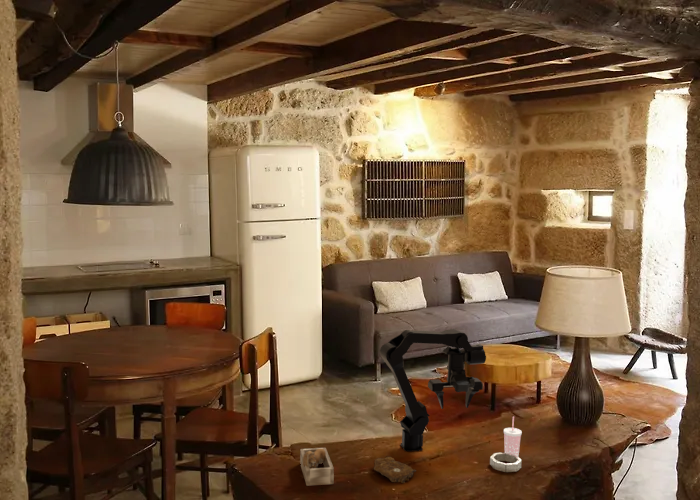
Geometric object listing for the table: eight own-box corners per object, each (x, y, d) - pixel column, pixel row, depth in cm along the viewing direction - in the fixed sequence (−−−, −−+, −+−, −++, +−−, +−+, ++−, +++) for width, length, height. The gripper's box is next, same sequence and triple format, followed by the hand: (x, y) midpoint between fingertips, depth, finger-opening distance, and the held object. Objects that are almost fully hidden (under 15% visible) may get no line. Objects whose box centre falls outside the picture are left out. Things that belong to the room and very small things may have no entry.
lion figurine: (314, 482, 219) (314, 455, 218) (298, 480, 221) (298, 452, 220) (331, 464, 233) (331, 438, 232) (316, 462, 235) (316, 436, 234)
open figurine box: (306, 485, 218) (306, 470, 217) (300, 463, 234) (300, 449, 233) (333, 483, 219) (333, 468, 219) (325, 462, 235) (325, 447, 235)
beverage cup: (524, 457, 243) (526, 417, 241) (511, 461, 239) (513, 421, 238) (511, 451, 248) (513, 412, 246) (498, 454, 244) (500, 415, 243)
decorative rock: (362, 472, 229) (396, 490, 219) (362, 460, 229) (396, 477, 218) (387, 461, 237) (420, 477, 226) (387, 449, 236) (421, 465, 226)
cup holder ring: (497, 472, 230) (497, 465, 230) (486, 460, 239) (486, 453, 239) (525, 470, 232) (525, 463, 231) (513, 459, 241) (513, 452, 241)
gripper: (437, 372, 241) (436, 417, 243) (489, 370, 244) (487, 414, 246) (428, 363, 252) (426, 406, 253) (478, 362, 255) (476, 404, 257)
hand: (454, 408), depth 252 cm, fingers open, 9 cm apart
